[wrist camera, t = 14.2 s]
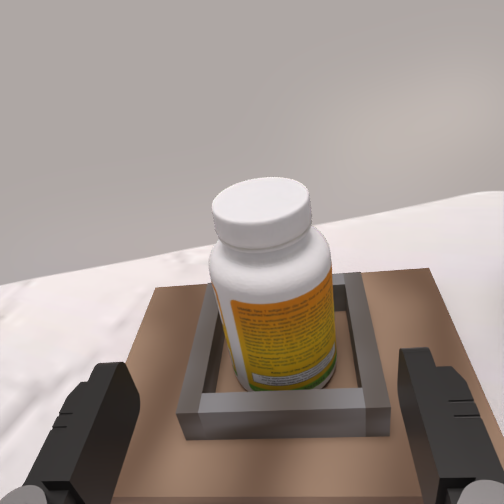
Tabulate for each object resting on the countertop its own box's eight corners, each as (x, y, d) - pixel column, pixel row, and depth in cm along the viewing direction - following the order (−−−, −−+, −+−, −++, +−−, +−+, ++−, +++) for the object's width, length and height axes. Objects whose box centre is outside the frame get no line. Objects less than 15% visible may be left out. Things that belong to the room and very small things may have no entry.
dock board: (80, 508, 19) (53, 471, 17) (159, 298, 30) (147, 264, 29) (524, 509, 16) (541, 466, 15) (427, 280, 28) (431, 241, 26)
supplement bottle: (359, 360, 22) (357, 188, 17) (281, 427, 20) (249, 250, 14) (287, 312, 26) (267, 159, 21) (214, 363, 23) (169, 204, 18)
